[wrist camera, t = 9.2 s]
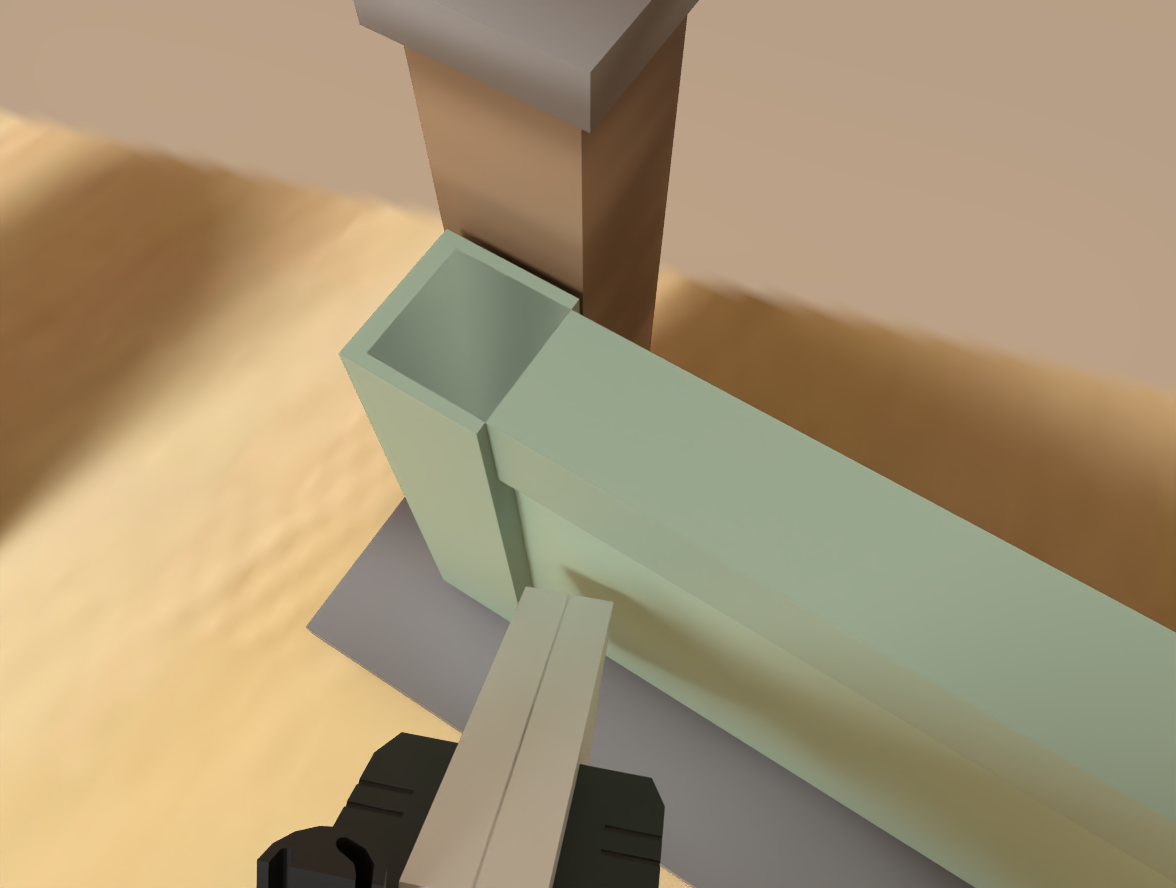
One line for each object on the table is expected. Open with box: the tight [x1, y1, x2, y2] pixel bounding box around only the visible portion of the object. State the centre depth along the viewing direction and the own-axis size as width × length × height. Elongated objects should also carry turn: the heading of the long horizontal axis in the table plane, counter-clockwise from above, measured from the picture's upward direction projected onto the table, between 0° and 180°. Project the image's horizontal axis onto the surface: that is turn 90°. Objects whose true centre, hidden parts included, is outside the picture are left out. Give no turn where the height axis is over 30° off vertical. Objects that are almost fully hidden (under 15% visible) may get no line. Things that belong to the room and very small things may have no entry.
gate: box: [339, 229, 1176, 888], centre depth 15 cm, size 2×22×10 cm, turn 58°
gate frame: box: [306, 0, 975, 888], centre depth 13 cm, size 8×28×15 cm, turn 58°
